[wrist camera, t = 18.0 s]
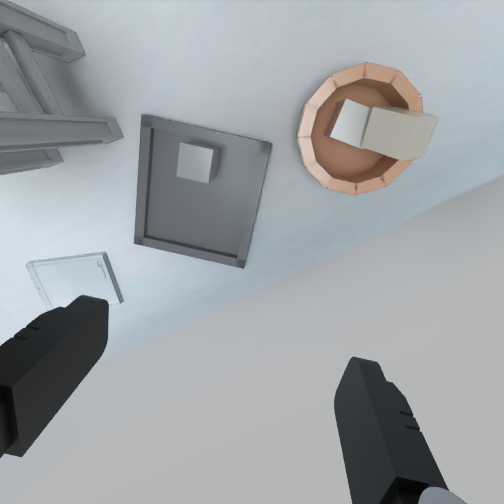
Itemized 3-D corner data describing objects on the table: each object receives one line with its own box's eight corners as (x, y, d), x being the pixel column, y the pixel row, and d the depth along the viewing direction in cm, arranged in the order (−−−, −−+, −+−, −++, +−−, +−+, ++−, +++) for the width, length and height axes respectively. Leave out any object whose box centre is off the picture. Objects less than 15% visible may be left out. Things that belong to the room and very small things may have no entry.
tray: (146, 114, 36) (141, 114, 34) (271, 143, 36) (271, 143, 34) (138, 240, 42) (134, 243, 41) (245, 264, 42) (243, 268, 41)
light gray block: (191, 140, 36) (179, 142, 32) (220, 147, 36) (213, 149, 32) (187, 171, 37) (176, 176, 33) (216, 177, 37) (208, 183, 33)
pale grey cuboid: (337, 102, 33) (346, 98, 29) (368, 114, 33) (381, 112, 29) (323, 135, 34) (329, 136, 30) (353, 147, 34) (363, 149, 30)
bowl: (313, 63, 32) (319, 51, 27) (420, 87, 32) (445, 80, 27) (286, 173, 37) (287, 179, 32) (380, 194, 37) (395, 204, 32)
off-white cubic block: (372, 106, 28) (419, 117, 25) (394, 106, 30) (439, 116, 27) (360, 146, 30) (402, 161, 27) (381, 143, 32) (422, 157, 29)
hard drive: (102, 254, 42) (23, 264, 44) (120, 304, 45) (46, 312, 47) (108, 250, 44) (32, 260, 45) (125, 298, 47) (53, 306, 48)
